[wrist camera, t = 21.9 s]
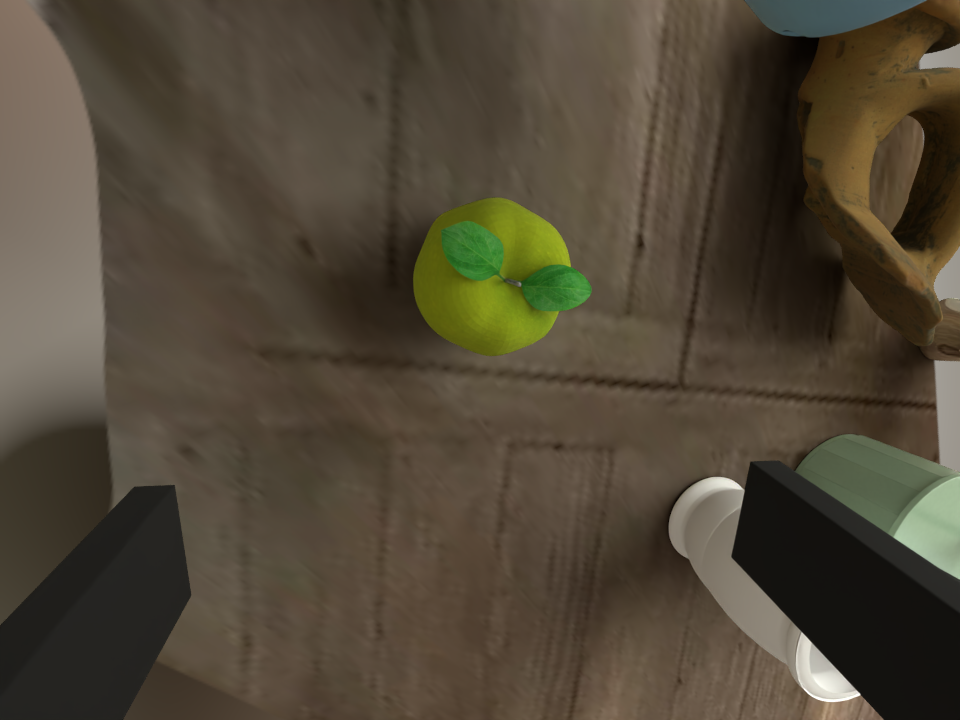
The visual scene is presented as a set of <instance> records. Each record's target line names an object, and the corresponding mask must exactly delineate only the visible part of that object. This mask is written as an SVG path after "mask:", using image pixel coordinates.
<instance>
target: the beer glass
mask: <svg viewBox="0 0 960 720" xmlns="http://www.w3.org/2000/svg"><path fill="white" fill-rule="evenodd" d="M939 303H940V307H941V311H942V315H943V319H942V321H941V322H940V323H939V324H937V325H936V327H935V333H934V338H933V342H932V343H931V344H930V345H928V346H919V347H920V350H921V352H922V353H923V355H924V356H925V357H927V358H929V359H931V360H939V361H959V362H960V299H955V298H948V299H944V300H941V301H939Z"/></svg>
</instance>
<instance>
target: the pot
mask: <svg viewBox="0 0 960 720" xmlns="http://www.w3.org/2000/svg"><path fill="white" fill-rule="evenodd" d="M795 472H797V473H798V474H800V475H801V476H803V477H804V478H806V479H807V480H808V481H810V482H811V483H813V484H814V485H816V486H817V487H819V488H820V489H822V490H823V491H825V492H826V493H828V494H829V495H831V496H832V497H834V498H835V499H837V500H838V501H840V502H841V503H843V504H844V505H846V506H847V507H849V508H850V509H852V510H853V511H855V512H856V513H858V514H859V515H861V516H862V517H864V518H865V519H867V520H868V521H870V522H871V523H873V524H874V525H876V526H877V527H879V528H880V529H882V530H883V531H885V532H886V533H888V532H889V530H890V528H891V527H892V525H893V523H894V522H895V520H896V519H897V517H898V516H899V514H900V513H901V512H902V510H903V509H904V508H905V507H906V506H907V505H908V503H909V502H910V501H911V500H912V499H913V498H914V497H915V496H916V495H918V494H919V493H920V492H921V491H922V490H924V489H925V488H926V487H928V486H929V485H931V484H932V483H934V482H935V481H937V480H939V479H941V478H943V477H946V476H948V475H951V474H955V473H960V472H958V471H955V470H952V469H950V468H947V467H945V466H942V465H939V464H937V463H934V462H932V461H929V460H926V459H924V458H921V457H918V456H916V455H913V454H910V453H908V452H905V451H903V450H900V449H897V448H895V447H892V446H889V445H887V444H884V443H882V442H879V441H876V440H874V439H871V438H868V437H866V436H863V435H856V434H845V435H840V436H836V437H833V438H831V439H829V440H827V441H825V442H823V443H822V444H820V445H819V446H817V447H816V448H815V449H814V450H812V451H811V452H810V453H809V454H808V455H807V456H806V457H805V458H804V460H803V461H802V462H801V463H800V465H799V466H798V467H797V469H796V470H795Z"/></svg>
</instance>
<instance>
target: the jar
mask: <svg viewBox="0 0 960 720" xmlns="http://www.w3.org/2000/svg"><path fill="white" fill-rule="evenodd" d="M744 492H745V490H743V489H742V488H741V486H740V485H739V484H737V483H736V482H734V481H733V480H731V479H728V478H724V477H710V478H706V479H703V480H701V481H699V482H697V483H695V484H693V485H692V486H691V487H689V488H688V489H687V490H686V491H685V492H684V493H683V494H682V495H681V496H680V498H679V499H678V500H677V502H676V503H675V505H674V507H673V509H672V512H671V515H670V519H669V537H670V540H671V543H672V545H673V546H674V548H675V549H676V550H677V552H678V553H680V554H681V555H682V556H684V557H686V558H688V559H689V560H690V563H691V565H692V567H693V569H694V570H695V572H696V574H697V575H698V577H699V578H700V580H701V581H702V582H703V584H704V585H705V586H706V587H707V589H708V590H709V591H710V592H711V594H712V595H713V597H714V598H715V600H716V601H717V602H718V604H719V605H720V606H721V607H722V609H723V610H724V611H725V612H726V614H727V615H728V616H729V617H730V618H731V619H732V620H733V621H734V622H735V624H736V625H737V626H738V627H739V628H740V629H741V630H742V631H744V632H745V633H746V634H747V635H748V636H749V637H750V638H751V639H752V640H754V641H755V642H756V643H757V644H758V645H760V646H761V647H762V648H763V649H765V650H766V651H767V652H769V653H770V654H771V655H773V656H774V657H776V658H777V659H779V660H780V661H782V662H783V663H785V664H787V665H788V667H789V670H790V672H791V674H792V676H793V678H794V679H795V681H796V682H797V683H798V684H799V685H800V686H801V687H802V688H803V689H804V690H805V691H806V692H807V693H808V694H809V695H811V696H812V697H814V698H816V699H818V700H822V701H827V702H838V701H844V700H848V699H851V698H854V697H857V696H859V695H860V693H859V692H858V691H857V690H856V689H855V688H854V687H853V686H852V685H851V684H850V683H849V682H848V681H847V680H846V679H845V678H844V676H843V675H842V674H841V673H840V672H839V671H838V670H837V669H836V668H835V667H834V666H833V665H832V664H831V663H830V662H829V661H828V659H827V658H826V657H825V656H824V655H823V654H822V653H821V652H820V651H819V650H818V649H817V648H816V647H815V646H814V645H813V644H812V642H811V641H810V640H809V639H808V638H807V637H806V636H805V635H804V634H803V633H802V632H801V631H800V630H799V629H798V628H797V627H796V625H795V624H794V623H793V622H792V621H791V620H790V619H789V618H788V617H787V616H786V615H785V614H784V613H783V612H782V611H781V610H780V608H779V607H778V606H777V605H776V604H775V603H774V602H773V601H772V600H771V599H770V598H769V597H768V596H767V595H766V594H765V593H764V592H763V590H762V589H761V588H760V587H759V586H758V585H757V584H756V583H755V582H754V581H753V580H752V579H751V578H750V577H749V576H748V575H747V573H746V572H745V571H744V570H743V569H742V568H741V567H740V566H739V565H738V564H737V563H736V562H735V561H734V560H733V559H732V558H731V555H732V550H733V545H734V540H735V536H736V531H737V526H738V521H739V516H740V511H741V506H742V501H743V496H744Z"/></svg>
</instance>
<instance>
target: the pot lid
mask: <svg viewBox="0 0 960 720" xmlns="http://www.w3.org/2000/svg"><path fill="white" fill-rule="evenodd" d="M888 534H889V535H891V536H892V537H894V538H895V539H897V540H898V541H900V542H901V543H903V544H904V545H906V546H907V547H908V548H910V549H911V550H913V551H914V552H916V553H917V554H919V555H920V556H922V557H923V558H925V559H926V560H928V561H929V562H931V563H932V564H934V565H935V566H937V567H938V568H940V569H941V570H943V571H944V572H946V573H947V574H949V575H950V576H952V577H953V578H955V579H956V580H958V581H960V473H955V474H951V475H948V476H946V477H943V478H941V479H939V480H937V481H935V482H934V483H932V484H931V485H929V486H928V487H926V488H925V489H924V490H922V491H921V492H920V493H919V494H918V495H916V496H915V497H914V498H913V499H912V500H911V501H910V502H909V503H908V505H907V506H906V507H905V508H904V509H903V510H902V512H901V513H900V514H899V516H898V517H897V519H896V520H895V522H894V523H893V525H892V527H891V528H890V530H889V532H888Z"/></svg>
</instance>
